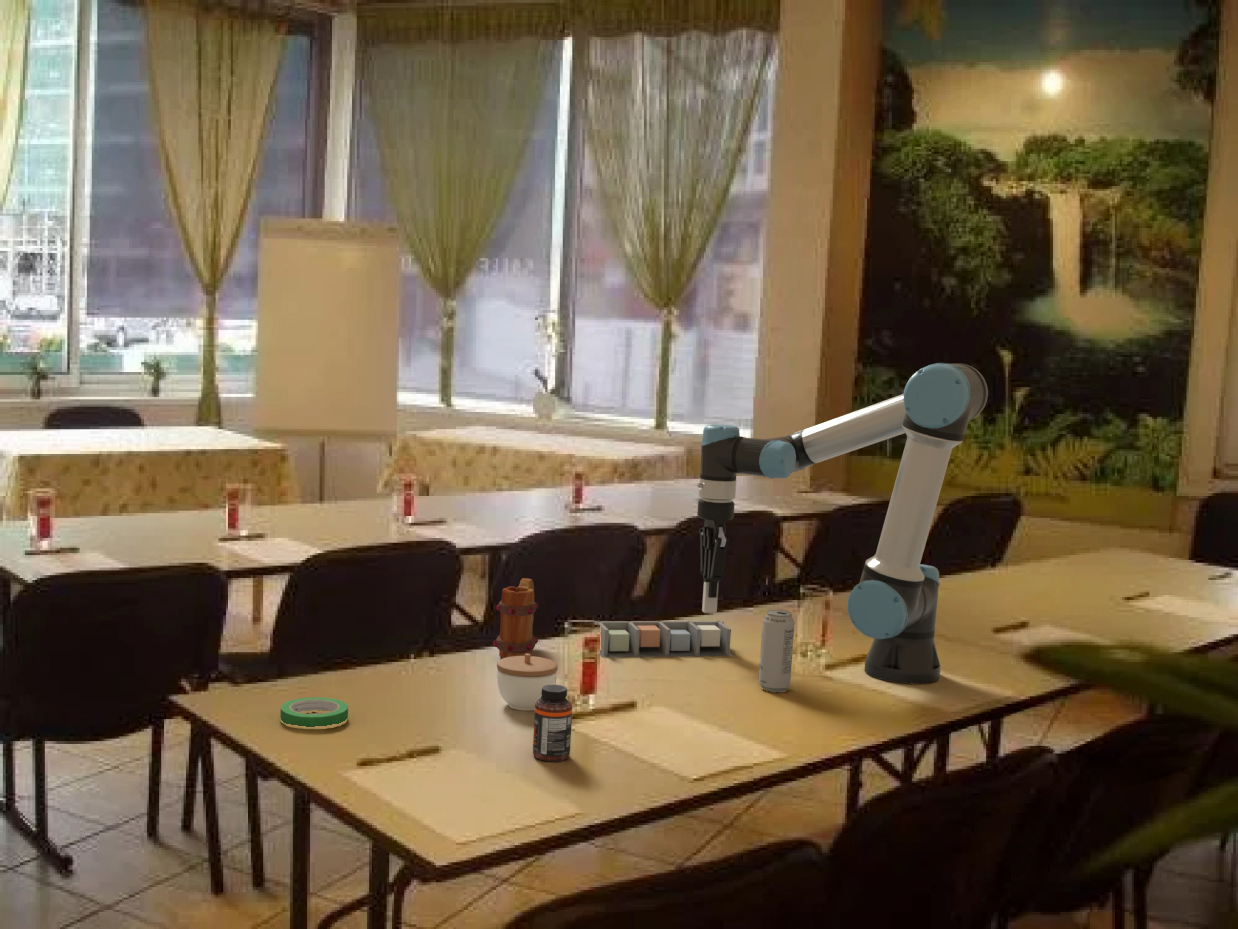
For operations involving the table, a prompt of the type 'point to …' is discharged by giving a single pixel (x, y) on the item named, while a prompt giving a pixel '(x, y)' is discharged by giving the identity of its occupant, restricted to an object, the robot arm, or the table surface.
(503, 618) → the mug
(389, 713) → the table surface
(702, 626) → the ivory key
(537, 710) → the supplement bottle
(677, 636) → the slate key
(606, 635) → the grey compartment rack
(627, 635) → the sage key
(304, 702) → the tape roll
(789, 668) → the energy drink can
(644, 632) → the terracotta key
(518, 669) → the lidded jar
